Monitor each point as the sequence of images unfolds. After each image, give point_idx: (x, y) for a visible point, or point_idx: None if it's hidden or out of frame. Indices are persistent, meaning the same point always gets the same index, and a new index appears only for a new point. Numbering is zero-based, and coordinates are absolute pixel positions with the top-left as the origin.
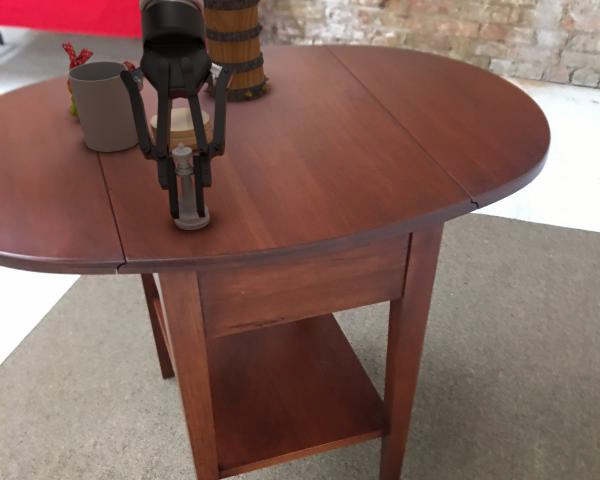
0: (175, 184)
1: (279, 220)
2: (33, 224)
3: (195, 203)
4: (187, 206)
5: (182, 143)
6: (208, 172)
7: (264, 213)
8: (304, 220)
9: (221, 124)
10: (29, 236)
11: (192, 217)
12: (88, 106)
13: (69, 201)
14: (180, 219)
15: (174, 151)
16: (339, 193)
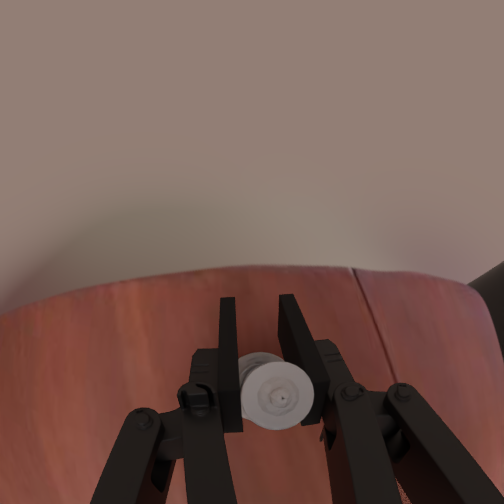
0: (291, 352)
1: (98, 368)
2: (482, 356)
3: (246, 371)
4: (264, 363)
5: (275, 402)
6: (196, 369)
7: (121, 398)
8: (64, 358)
9: (113, 475)
10: (477, 326)
11: (253, 354)
12: None
13: (461, 426)
14: (279, 357)
15: (304, 391)
16: (21, 423)
